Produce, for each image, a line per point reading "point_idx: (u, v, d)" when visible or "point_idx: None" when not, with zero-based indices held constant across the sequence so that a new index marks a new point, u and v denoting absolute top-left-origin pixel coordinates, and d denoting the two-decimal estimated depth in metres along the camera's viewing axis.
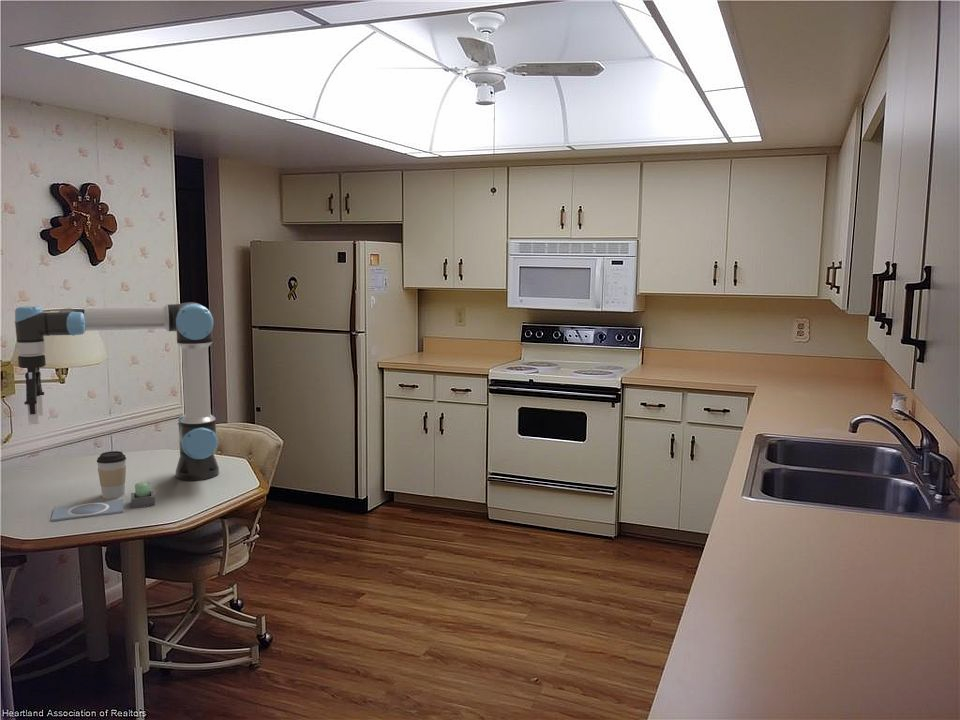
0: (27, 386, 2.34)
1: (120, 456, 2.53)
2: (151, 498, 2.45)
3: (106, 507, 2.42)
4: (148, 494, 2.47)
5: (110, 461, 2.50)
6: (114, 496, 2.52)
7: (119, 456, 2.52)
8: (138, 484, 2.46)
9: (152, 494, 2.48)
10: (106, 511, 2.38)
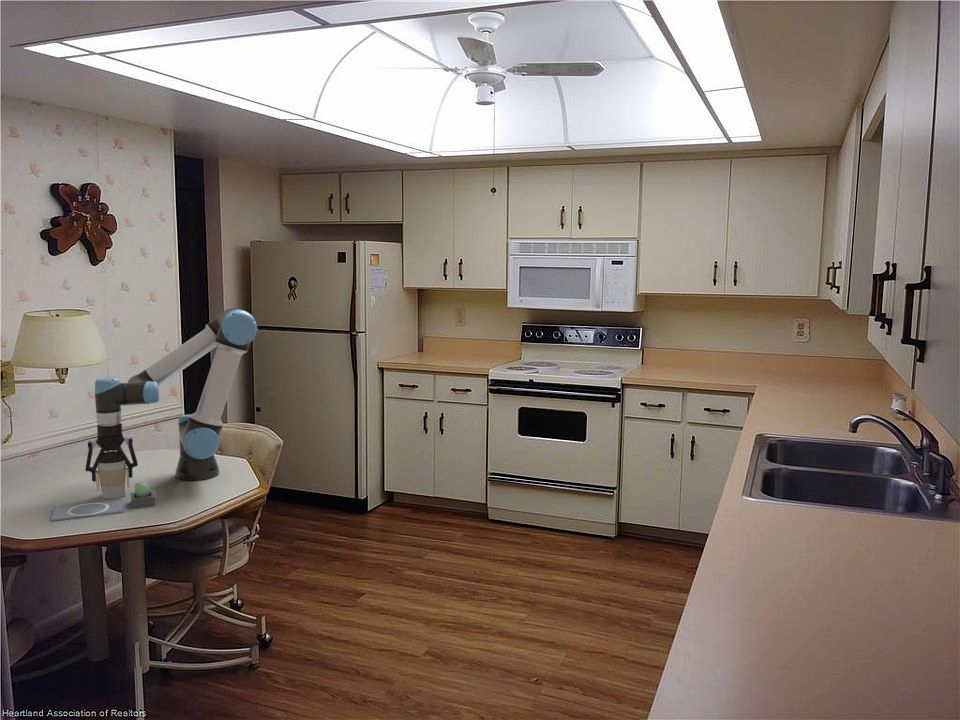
0: None
1: (120, 456, 2.53)
2: (151, 498, 2.45)
3: (106, 507, 2.42)
4: (148, 494, 2.47)
5: (110, 461, 2.50)
6: (114, 496, 2.52)
7: (119, 456, 2.52)
8: (138, 484, 2.46)
9: (152, 494, 2.48)
10: (106, 511, 2.38)
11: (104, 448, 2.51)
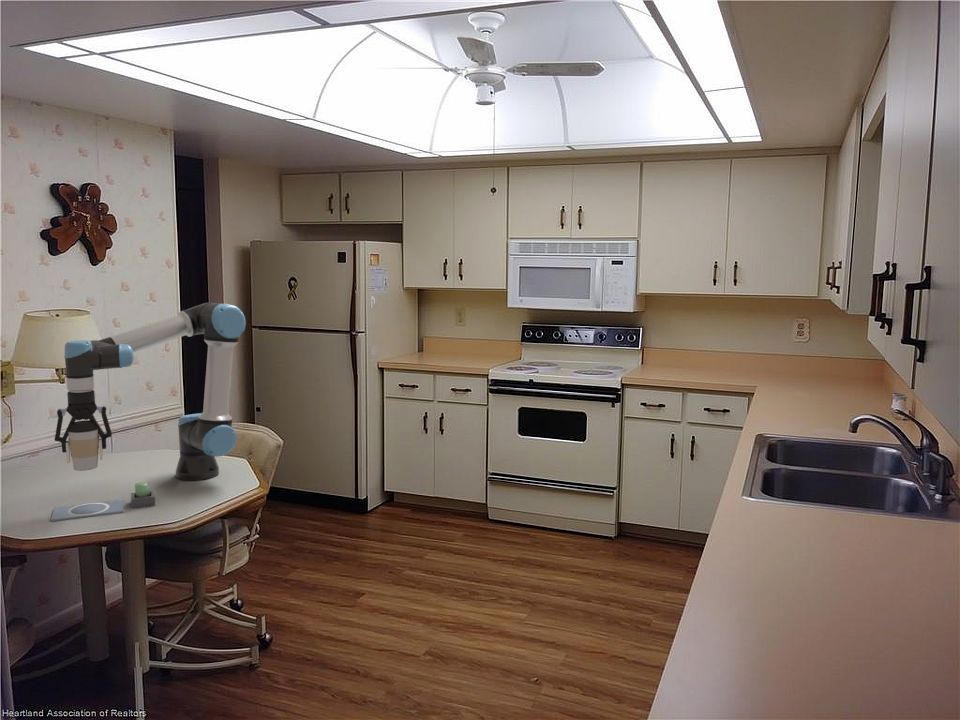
0: None
1: (92, 425, 2.35)
2: (151, 498, 2.45)
3: (106, 507, 2.42)
4: (148, 494, 2.47)
5: (81, 430, 2.32)
6: (86, 468, 2.35)
7: (91, 425, 2.35)
8: (138, 484, 2.46)
9: (152, 494, 2.48)
10: (106, 511, 2.38)
11: (75, 416, 2.33)
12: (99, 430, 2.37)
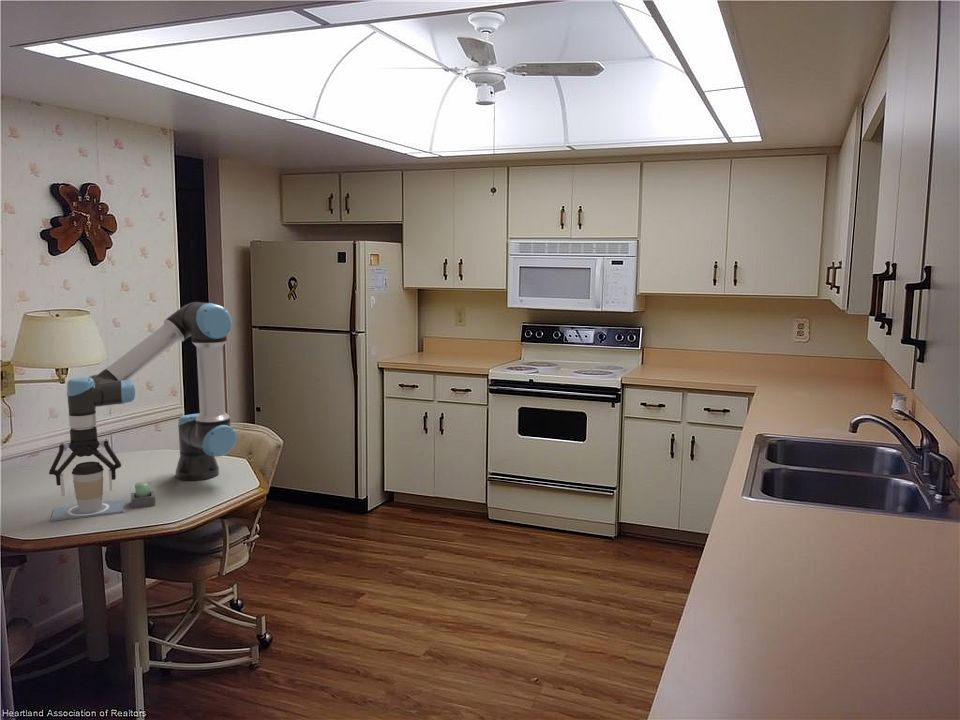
0: (56, 456, 2.35)
1: (97, 467, 2.37)
2: (151, 498, 2.45)
3: (106, 507, 2.42)
4: (148, 494, 2.47)
5: (86, 472, 2.34)
6: (90, 510, 2.37)
7: (96, 467, 2.37)
8: (138, 484, 2.46)
9: (152, 494, 2.48)
10: (106, 511, 2.38)
11: (76, 453, 2.35)
12: (107, 462, 2.39)
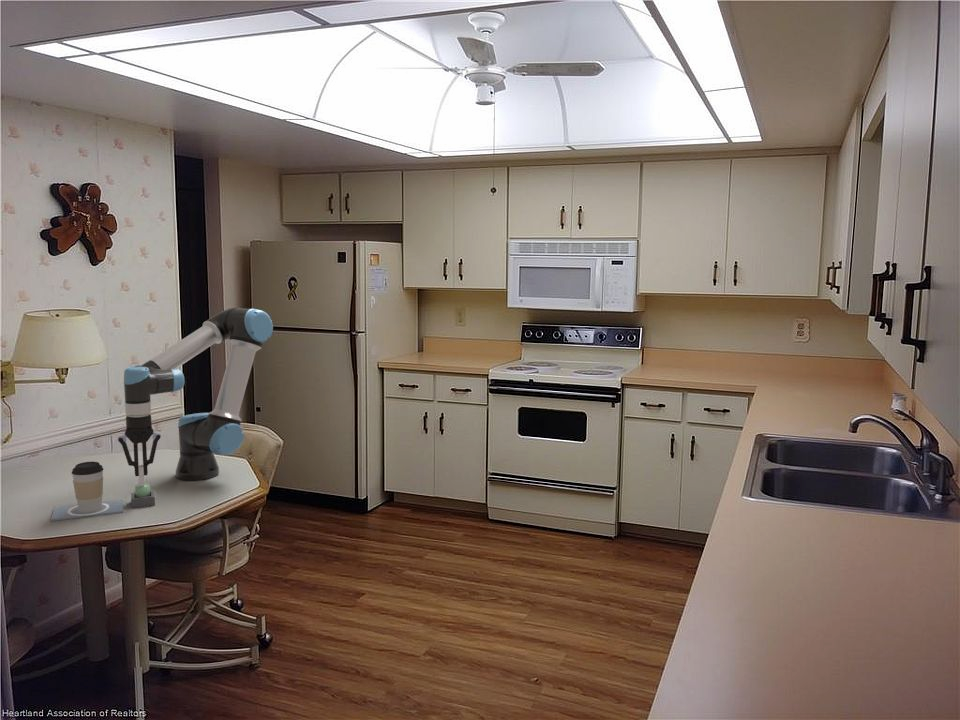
0: None
1: (96, 467, 2.37)
2: (151, 498, 2.45)
3: (106, 507, 2.42)
4: (148, 495, 2.47)
5: (85, 472, 2.34)
6: (90, 510, 2.37)
7: (95, 467, 2.37)
8: (138, 485, 2.46)
9: (152, 494, 2.48)
10: (106, 511, 2.38)
11: (135, 440, 2.42)
12: (145, 456, 2.45)
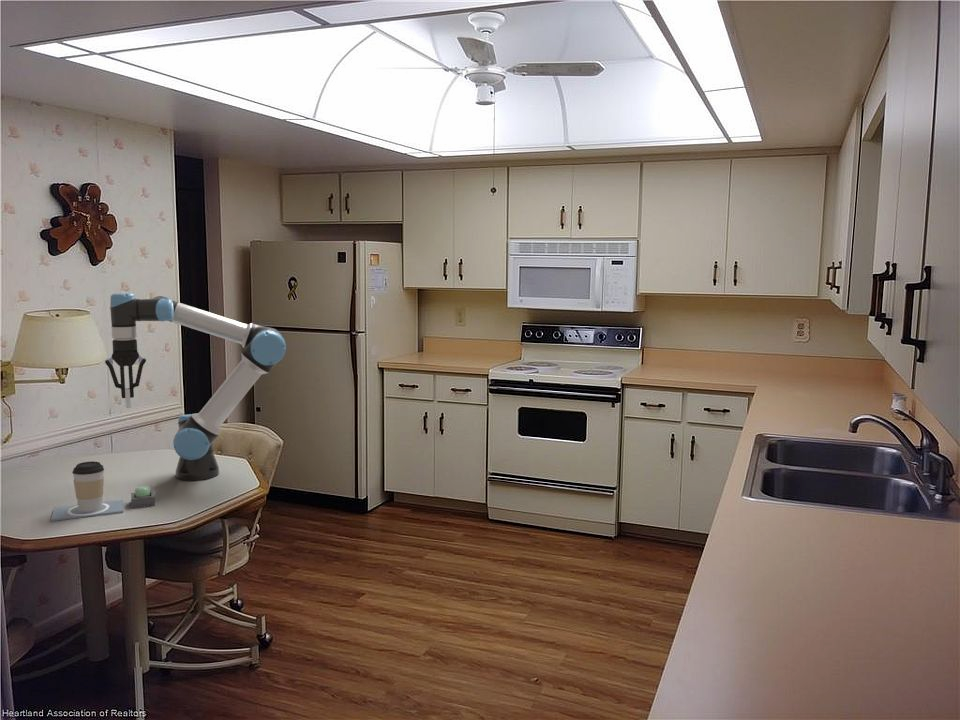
0: None
1: (97, 467, 2.37)
2: (151, 498, 2.45)
3: (106, 507, 2.42)
4: None
5: (86, 472, 2.34)
6: (90, 509, 2.37)
7: (96, 467, 2.37)
8: (138, 488, 2.47)
9: (152, 494, 2.48)
10: (106, 511, 2.38)
11: (122, 363, 2.53)
12: (131, 379, 2.56)
